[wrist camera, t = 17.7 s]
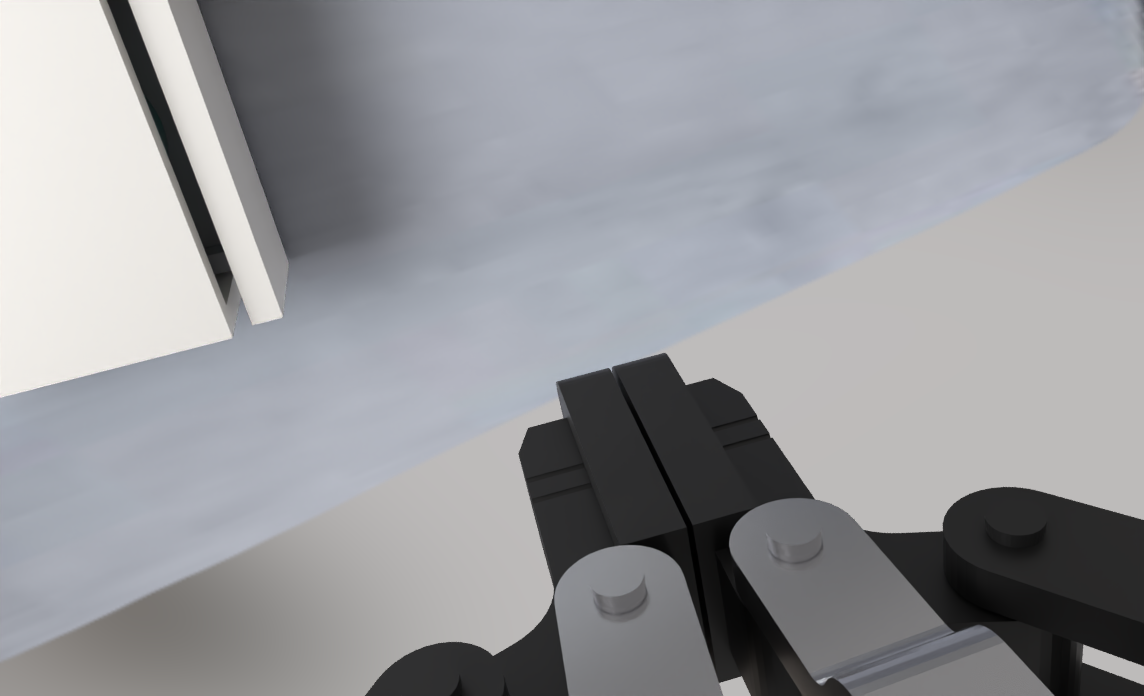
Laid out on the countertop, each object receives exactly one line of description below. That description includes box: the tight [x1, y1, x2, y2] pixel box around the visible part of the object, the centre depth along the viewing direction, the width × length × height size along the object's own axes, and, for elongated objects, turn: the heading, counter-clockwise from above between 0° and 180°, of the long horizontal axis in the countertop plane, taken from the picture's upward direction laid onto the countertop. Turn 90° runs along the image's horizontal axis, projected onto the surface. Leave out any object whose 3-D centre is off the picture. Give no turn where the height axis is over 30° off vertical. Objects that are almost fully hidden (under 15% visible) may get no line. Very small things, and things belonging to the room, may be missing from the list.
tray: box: [107, 0, 289, 325], centre depth 32 cm, size 13×12×5 cm
